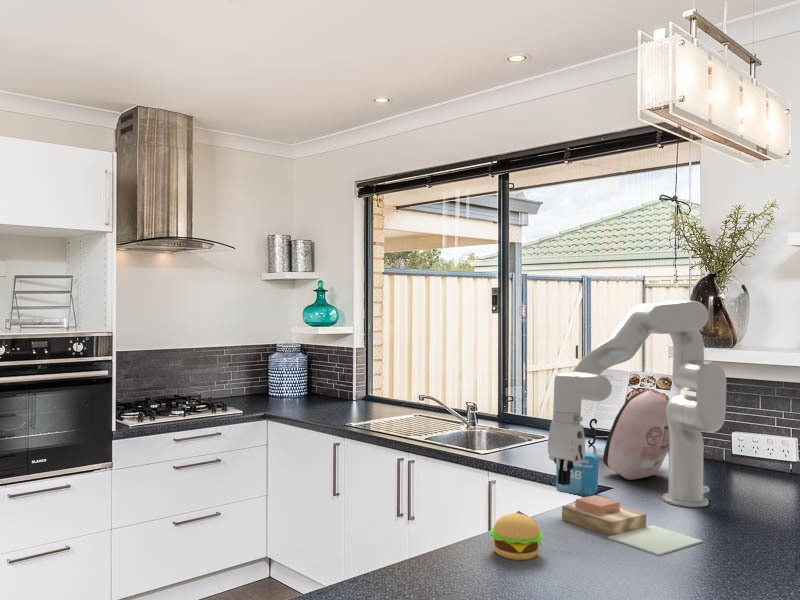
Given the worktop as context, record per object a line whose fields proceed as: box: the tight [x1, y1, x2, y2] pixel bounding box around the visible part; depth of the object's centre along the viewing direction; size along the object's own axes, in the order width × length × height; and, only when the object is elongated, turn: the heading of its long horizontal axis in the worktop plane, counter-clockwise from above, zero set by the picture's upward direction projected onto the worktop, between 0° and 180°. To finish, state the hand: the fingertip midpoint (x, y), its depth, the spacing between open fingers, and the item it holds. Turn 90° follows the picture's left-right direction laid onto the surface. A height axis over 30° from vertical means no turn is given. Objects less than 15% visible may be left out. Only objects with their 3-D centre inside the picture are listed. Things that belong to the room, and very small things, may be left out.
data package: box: [555, 452, 599, 497], centre depth 212 cm, size 12×4×12 cm, turn 65°
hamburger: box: [489, 512, 544, 561], centre depth 157 cm, size 12×12×9 cm
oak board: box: [561, 503, 647, 537], centre depth 181 cm, size 14×16×4 cm
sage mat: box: [607, 524, 704, 557], centre depth 168 cm, size 18×14×1 cm
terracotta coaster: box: [575, 494, 621, 514], centre depth 182 cm, size 8×8×2 cm
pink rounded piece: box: [602, 390, 669, 481], centre depth 233 cm, size 22×20×30 cm
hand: (563, 483), depth 191 cm, fingers closed
